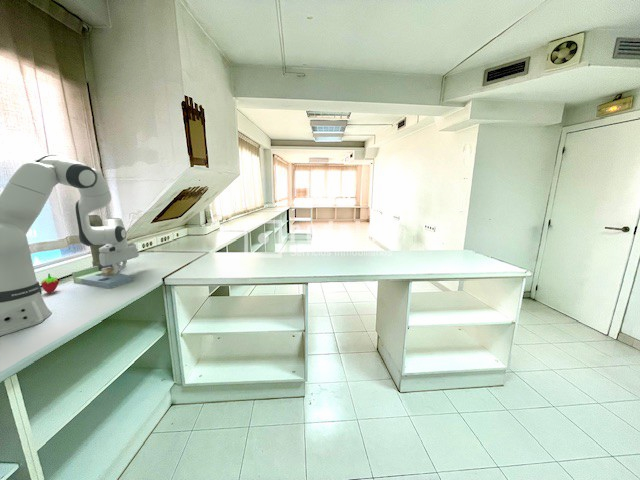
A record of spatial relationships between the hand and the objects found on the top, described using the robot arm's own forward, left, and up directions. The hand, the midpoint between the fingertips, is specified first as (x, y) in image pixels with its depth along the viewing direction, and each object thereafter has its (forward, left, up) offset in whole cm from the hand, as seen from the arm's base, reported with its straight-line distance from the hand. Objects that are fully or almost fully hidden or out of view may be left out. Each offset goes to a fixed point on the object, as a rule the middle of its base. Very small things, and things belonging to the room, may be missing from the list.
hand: (122, 268), depth 149 cm
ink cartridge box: (+1, +12, -5) cm, 13 cm away
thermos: (+3, +22, -5) cm, 23 cm away
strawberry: (-28, +9, -5) cm, 30 cm away
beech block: (-7, 0, -1) cm, 7 cm away
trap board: (-10, +1, -4) cm, 11 cm away
